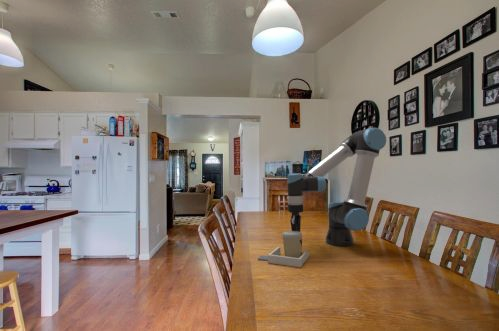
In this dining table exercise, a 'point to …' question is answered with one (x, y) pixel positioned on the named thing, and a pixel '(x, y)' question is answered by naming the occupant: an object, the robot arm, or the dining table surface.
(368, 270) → the dining table surface
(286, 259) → the frame
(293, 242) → the coffee cup
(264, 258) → the slate tile
